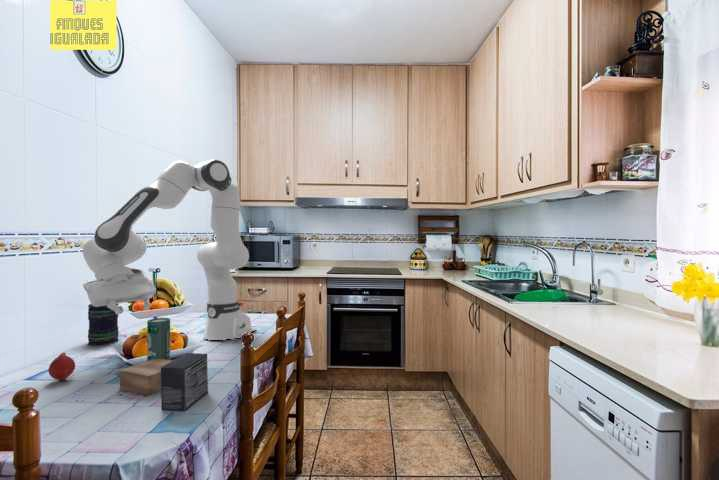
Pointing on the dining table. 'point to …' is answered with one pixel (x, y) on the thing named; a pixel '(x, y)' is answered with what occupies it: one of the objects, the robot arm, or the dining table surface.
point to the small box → (184, 382)
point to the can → (158, 338)
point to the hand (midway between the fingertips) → (134, 310)
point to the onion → (61, 367)
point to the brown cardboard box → (143, 377)
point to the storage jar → (102, 325)
